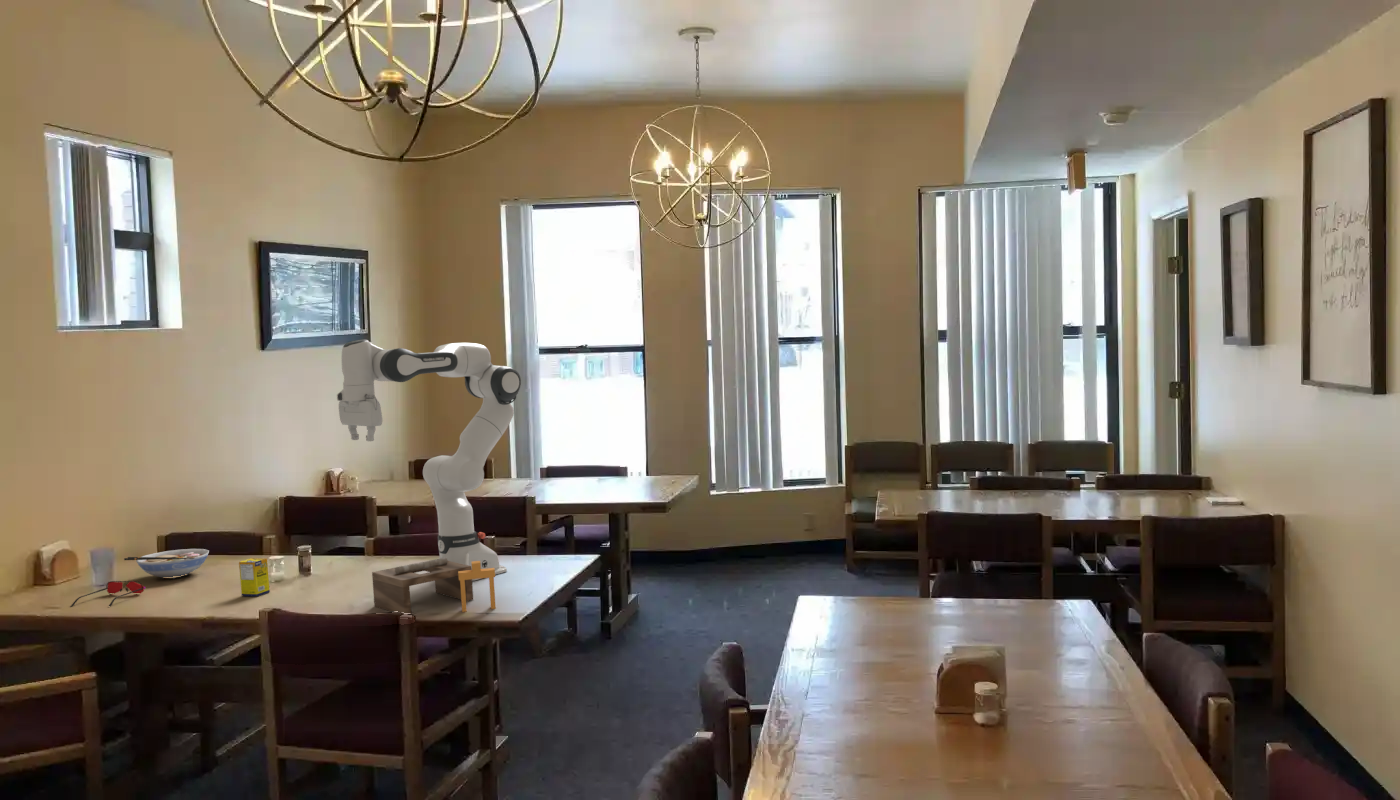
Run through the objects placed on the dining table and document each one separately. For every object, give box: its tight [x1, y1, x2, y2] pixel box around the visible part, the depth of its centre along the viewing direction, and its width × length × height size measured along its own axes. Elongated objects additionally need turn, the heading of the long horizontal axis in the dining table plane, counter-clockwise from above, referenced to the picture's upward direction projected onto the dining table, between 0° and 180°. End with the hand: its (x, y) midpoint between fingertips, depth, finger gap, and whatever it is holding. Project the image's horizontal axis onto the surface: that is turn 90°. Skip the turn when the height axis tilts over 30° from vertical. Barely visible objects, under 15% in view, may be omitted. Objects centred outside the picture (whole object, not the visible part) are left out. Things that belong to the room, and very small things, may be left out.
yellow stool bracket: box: [458, 561, 497, 613], centre depth 310 cm, size 3×10×13 cm, turn 103°
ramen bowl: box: [123, 548, 210, 578], centre depth 376 cm, size 25×23×8 cm
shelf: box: [371, 557, 474, 614], centre depth 320 cm, size 22×18×12 cm
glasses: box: [69, 580, 146, 608], centre depth 344 cm, size 14×16×5 cm
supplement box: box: [238, 557, 271, 597], centre depth 342 cm, size 6×6×11 cm
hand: (362, 440), depth 329 cm, fingers open, 8 cm apart
